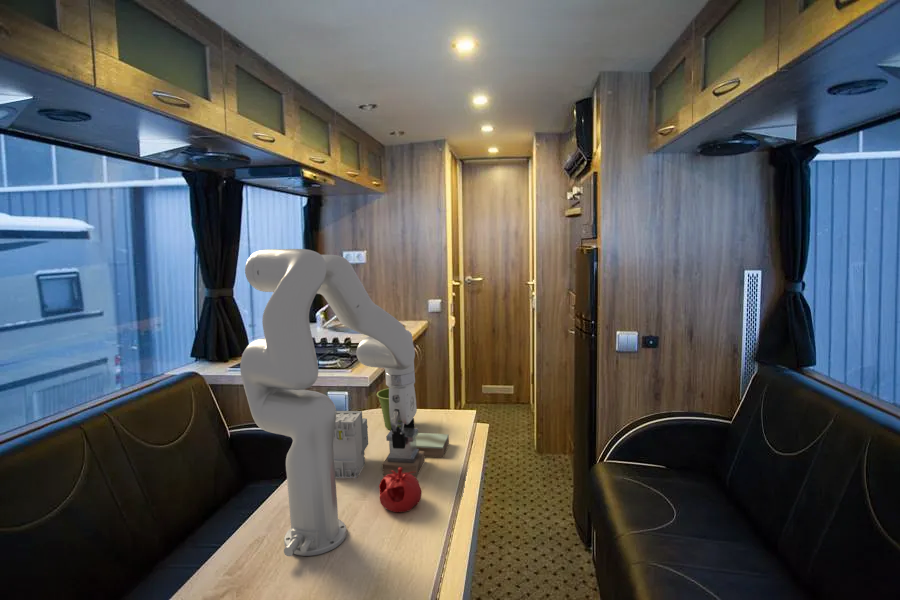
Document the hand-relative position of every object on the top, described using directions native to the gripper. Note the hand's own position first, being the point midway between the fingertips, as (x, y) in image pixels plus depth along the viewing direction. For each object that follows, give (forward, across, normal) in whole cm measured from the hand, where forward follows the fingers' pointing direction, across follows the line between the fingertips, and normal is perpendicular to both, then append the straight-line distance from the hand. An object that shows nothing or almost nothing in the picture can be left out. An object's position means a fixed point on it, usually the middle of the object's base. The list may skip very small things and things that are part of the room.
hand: (404, 439), depth 141 cm
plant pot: (+8, +27, +10) cm, 30 cm away
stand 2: (+8, +11, -4) cm, 14 cm away
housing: (+5, -1, 0) cm, 5 cm away
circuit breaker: (+8, -1, +15) cm, 17 cm away
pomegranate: (+7, -19, -4) cm, 21 cm away
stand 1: (+8, -1, 0) cm, 8 cm away
